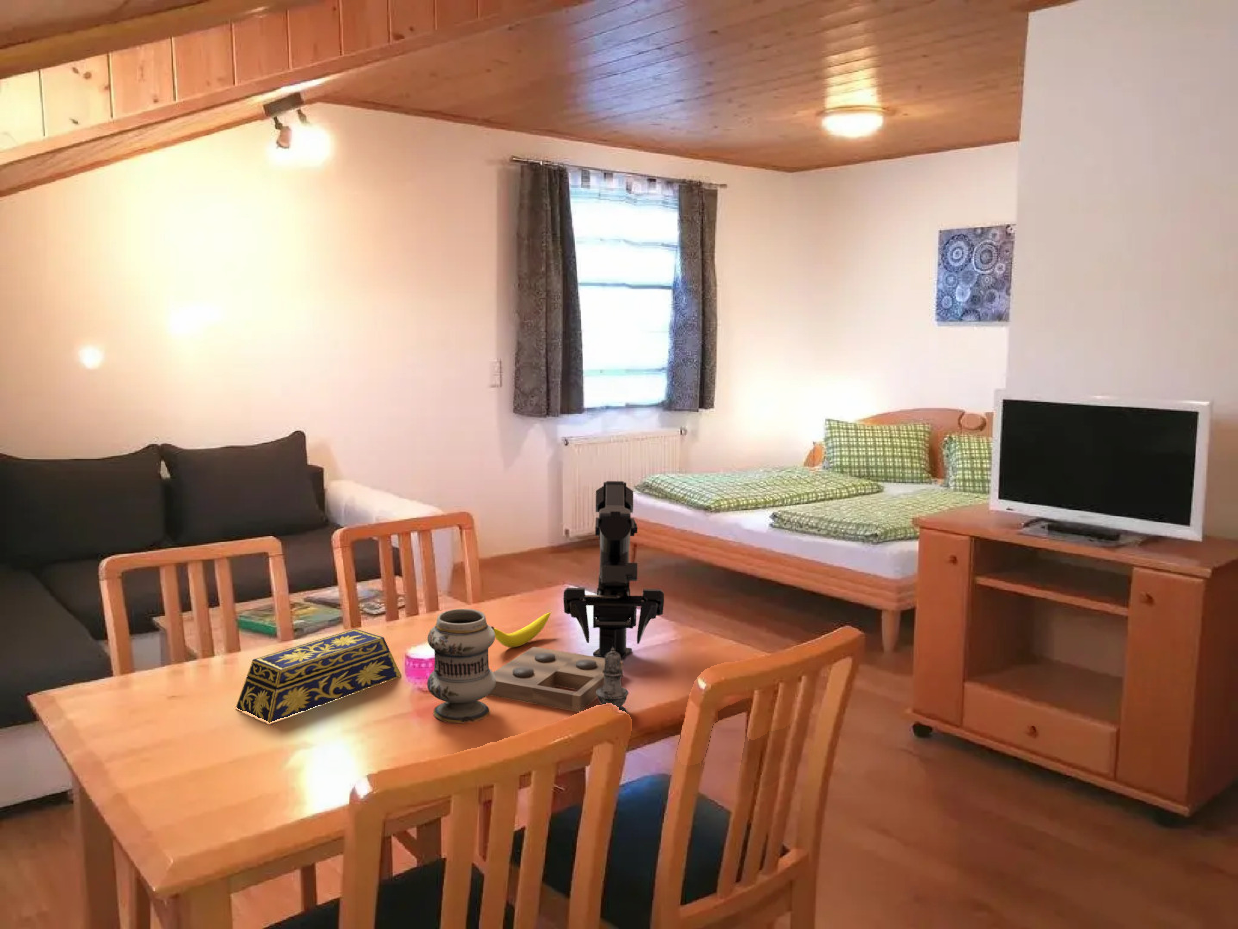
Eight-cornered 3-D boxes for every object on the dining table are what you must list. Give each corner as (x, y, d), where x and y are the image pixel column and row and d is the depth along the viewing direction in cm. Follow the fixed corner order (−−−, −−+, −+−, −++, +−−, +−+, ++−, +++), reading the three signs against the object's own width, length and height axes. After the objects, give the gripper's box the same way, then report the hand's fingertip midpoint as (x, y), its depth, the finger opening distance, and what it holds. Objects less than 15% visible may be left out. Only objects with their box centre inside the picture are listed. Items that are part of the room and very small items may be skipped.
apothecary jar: (439, 731, 169) (438, 629, 166) (419, 706, 180) (417, 610, 177) (505, 719, 175) (505, 620, 172) (482, 695, 185) (482, 602, 182)
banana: (555, 634, 221) (555, 607, 220) (496, 657, 205) (496, 628, 205) (545, 632, 222) (545, 604, 221) (486, 654, 207) (486, 625, 206)
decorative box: (402, 678, 194) (401, 634, 193) (268, 727, 170) (266, 677, 169) (366, 666, 201) (365, 623, 199) (232, 712, 177) (230, 663, 175)
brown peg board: (533, 660, 204) (533, 644, 203) (622, 675, 196) (623, 658, 196) (483, 694, 186) (483, 675, 185) (579, 712, 178) (580, 693, 177)
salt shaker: (624, 719, 175) (625, 654, 174) (592, 716, 177) (593, 651, 175) (631, 706, 181) (632, 643, 179) (599, 703, 182) (600, 640, 180)
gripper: (564, 545, 184) (560, 621, 175) (664, 547, 184) (666, 622, 175) (566, 576, 193) (562, 649, 184) (662, 577, 193) (663, 650, 184)
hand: (613, 642), depth 182 cm, fingers open, 9 cm apart
